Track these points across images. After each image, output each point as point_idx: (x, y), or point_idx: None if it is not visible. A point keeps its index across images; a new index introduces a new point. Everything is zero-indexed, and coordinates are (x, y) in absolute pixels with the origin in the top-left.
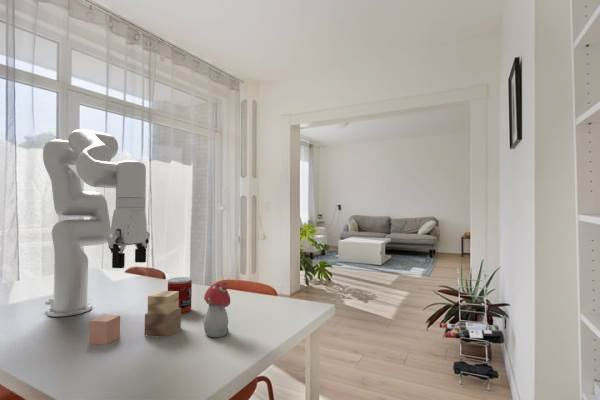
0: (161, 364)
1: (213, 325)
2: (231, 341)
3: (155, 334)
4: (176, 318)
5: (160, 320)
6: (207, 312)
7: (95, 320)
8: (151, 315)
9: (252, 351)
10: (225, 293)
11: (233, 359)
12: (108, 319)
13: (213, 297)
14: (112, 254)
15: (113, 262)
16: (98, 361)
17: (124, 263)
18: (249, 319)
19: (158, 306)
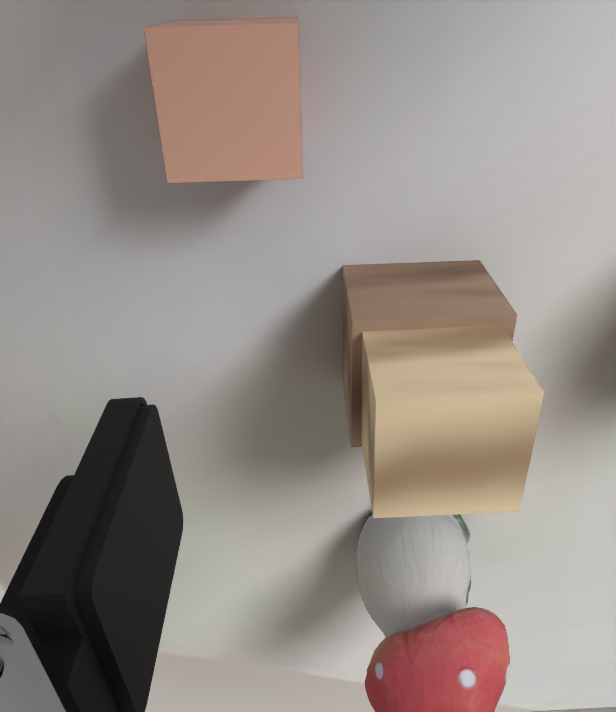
0: None
1: (358, 576)
2: (340, 583)
3: (343, 327)
4: None
5: (349, 391)
6: (399, 585)
7: (160, 74)
8: (352, 357)
9: (278, 643)
10: None
11: (215, 621)
12: (206, 159)
13: (376, 695)
14: (30, 574)
15: (56, 500)
16: (35, 256)
17: (175, 564)
18: (573, 572)
19: (367, 422)
